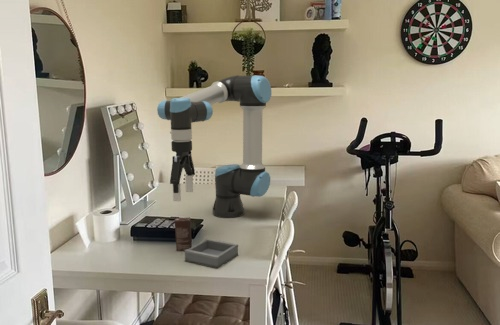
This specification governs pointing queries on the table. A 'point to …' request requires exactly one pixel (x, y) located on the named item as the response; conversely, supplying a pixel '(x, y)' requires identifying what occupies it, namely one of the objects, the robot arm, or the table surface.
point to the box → (183, 233)
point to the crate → (211, 253)
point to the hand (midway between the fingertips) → (183, 196)
